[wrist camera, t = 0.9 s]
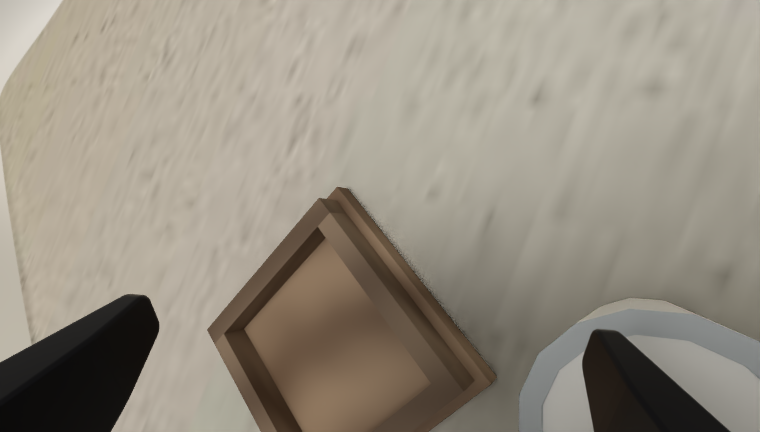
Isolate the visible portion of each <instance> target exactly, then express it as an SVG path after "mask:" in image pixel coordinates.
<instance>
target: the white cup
mask: <svg viewBox="0 0 760 432" xmlns="http://www.w3.org/2000/svg"><path fill="white" fill-rule="evenodd" d="M595 329H608V330H616V331H618V332H620V333H621V334H623V335H624V336H625V337H626V338H627V339H628V340H629V341H630V342H631V343H633V344H634V345H635V346H636V347H637V348H638V349H639V350H640V351H641V352H643V353H644V354H645V355H646V356H647V357H648V358H649V359H650V360H651V361H653V362H654V363H655V364H656V365H657V366H658V367H659V368H660V369H662V370H663V371H664V372H665V373H666V374H667V375H668V376H669V377H670V378H672V379H673V380H674V381H675V382H676V383H677V384H678V385H679V386H680V387H682V388H683V389H684V390H685V391H686V392H687V393H688V394H689V395H690V396H692V397H693V398H694V399H695V400H696V401H697V402H698V403H699V404H701V405H702V406H703V407H704V408H705V409H706V410H707V411H708V412H709V413H711V414H712V415H713V416H714V417H715V418H716V419H717V420H718V421H719V422H721V423H722V424H723V425H724V426H725V427H726V428H727V429H728V430H729V431H731V432H760V341H757V340H755V339H753V338H750V337H748V336H746V335H744V334H741V333H739V332H737V331H734V330H732V329H730V328H727V327H725V326H723V325H721V324H718V323H716V322H714V321H711V320H709V319H707V318H704V317H702V316H700V315H698V314H695V313H693V312H690V311H688V310H686V309H683V308H681V307H679V306H676V305H674V304H672V303H669V302H667V301H664V300H654V299H641V298H627V299H624V300H620V301H617V302H613V303H610V304H606V305H603V306H600V307H599V308H597V309H596V310H594V311H593V312H591V313H590V314H589V315H587V316H586V317H584V318H583V319H581V320H580V321H578V322H577V323H576V324H574V325H573V326H572V327H571V328H569V329H568V330H567V331H566V332H564V333H563V334H562V335H561V336H559V337H558V338H557V339H556V340H555V341H553V342H552V343H551V344H550V345H548V346H547V347H546V348H545V349H543V350H542V351H541V352H540V353H539V354H538V355H537V358H536V360H535V362H534V364H533V366H532V368H531V371H530V373H529V375H528V377H527V379H526V381H525V384H524V386H523V388H522V390H521V392H520V394H519V432H594V429H593V424H592V419H591V413H590V408H589V402H588V397H587V392H586V386H585V381H584V376H583V370H582V359H583V355H584V352H585V349H586V346H587V344H588V341H589V338H590V335H591V333H592V331H593V330H595Z"/></svg>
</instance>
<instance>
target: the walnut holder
mask: <svg viewBox="0 0 760 432" xmlns="http://www.w3.org/2000/svg"><path fill="white" fill-rule="evenodd" d="M207 331H208V332H209V334H210V336H211V338H212V340H213V342H214V344H215V346H216V348H217V349H218V351H219V353H220V355H221V357H222V359H223V361H224V363H225V365H226V366H227V368H228V370H229V372H230V374H231V376H232V378H233V380H234V382H235V383H236V385H237V387H238V389H239V391H240V393H241V395H242V397H243V399H244V400H245V402H246V404H247V406H248V408H249V410H250V412H251V414H252V416H253V417H254V419H255V421H256V423H257V425H258V427H259V429H260V431H261V432H428V431H430V430H431V429H432V428H434V427H435V426H436V425H438V424H439V423H440V422H442V421H443V420H444V419H446V418H447V417H448V416H449V415H451V414H452V413H453V412H455V411H456V410H457V409H459V408H460V407H461V406H463V405H464V404H465V403H467V402H468V401H469V400H471V399H472V398H473V397H475V396H476V395H477V394H479V393H480V392H481V391H483V390H484V389H485V388H487V387H488V386H489V385H491V384H492V382H493V381H494V380H495V379H496V378H497V377H496V375H495V374H494V373H493V372H492V370H491V369H490V368H489V366H488V365H487V364H486V363H485V361H484V360H483V359H482V358H481V356H480V355H479V354H478V353H477V351H476V350H475V349H474V348H473V346H472V345H471V344H470V342H469V341H468V340H467V339H466V337H465V336H464V335H463V334H462V332H461V331H460V330H459V329H458V327H457V326H456V325H455V324H454V322H453V321H452V320H451V318H450V317H449V316H448V315H447V313H446V312H445V311H444V310H443V308H442V307H441V306H440V305H439V303H438V302H437V301H436V300H435V298H434V297H433V296H432V294H431V293H430V292H429V291H428V289H427V288H426V287H425V286H424V284H423V283H422V282H421V281H420V279H419V278H418V277H417V276H416V274H415V273H414V272H413V271H412V269H411V268H410V267H409V265H408V264H407V263H406V262H405V260H404V259H403V258H402V257H401V255H400V254H399V253H398V252H397V250H396V249H395V248H394V247H393V245H392V244H391V243H390V241H389V240H388V239H387V238H386V236H385V235H384V234H383V233H382V231H381V230H380V229H379V228H378V226H377V225H376V224H375V223H374V221H373V220H372V219H371V217H370V216H369V215H368V214H367V212H366V211H365V210H364V209H363V207H362V206H361V205H360V204H359V202H358V201H357V200H356V199H355V197H354V196H353V195H352V193H351V192H350V191H349V190H348V189H347V188H341V187H337V188H336V189H335V190H334V191H333V192H332V193H331V194H330V196H329V197H328V198H327V199H322V198H319V199H318V200H317V201H316V202H315V203H314V204H313V206H312V207H311V208H310V209H309V210H308V212H307V213H306V214H305V215H304V216H303V217H302V219H301V220H300V221H299V222H298V223H297V224H296V226H295V227H294V228H293V229H292V230H291V232H290V233H289V234H288V235H287V236H286V237H285V239H284V240H283V241H282V242H281V243H280V244H279V246H278V247H277V248H276V249H275V250H274V252H273V253H272V254H271V255H270V256H269V257H268V259H267V260H266V261H265V262H264V263H263V265H262V266H261V267H260V268H259V269H258V270H257V272H256V273H255V274H254V275H253V276H252V277H251V279H250V280H249V281H248V282H247V283H246V285H245V286H244V287H243V288H242V289H241V290H240V292H239V293H238V294H237V295H236V296H235V297H234V299H233V300H232V301H231V302H230V303H229V305H228V306H227V307H226V308H225V309H224V310H223V312H222V313H221V314H220V315H219V316H218V317H217V319H216V320H215V321H214V322H213V323H212V325H211V326H210V327H209V328H208V329H207Z"/></svg>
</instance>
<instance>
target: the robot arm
mask: <svg viewBox="0 0 760 432" xmlns="http://www.w3.org/2000/svg"><path fill="white" fill-rule="evenodd" d="M158 332H159V321H158V318H157V316H156V313H155V311H154V308H153V306H152V304H151V301H150V299H149V298H148V297H147V296H145V295H136V294H127V295H124V296H122V297H120V298H118V299H116V300H114V301H113V302H111V303H109V304H107V305H105V306H103V307H102V308H100V309H98V310H96V311H94V312H92V313H91V314H89V315H87V316H85V317H83V318H81V319H79V320H78V321H76V322H74V323H72V324H70V325H68V326H67V327H65V328H63V329H61V330H59V331H57V332H56V333H54V334H52V335H50V336H48V337H46V338H44V339H43V340H41V341H39V342H37V343H35V344H33V345H32V346H30V347H28V348H26V349H24V350H22V351H21V352H19V353H17V354H15V355H13V356H11V357H10V358H8V359H6V360H4V361H2V362H0V432H111V430H112V429H113V427H114V425H115V423H116V421H117V420H118V418H119V416H120V414H121V413H122V411H123V409H124V407H125V405H126V403H127V401H128V399H129V397H130V395H131V393H132V391H133V389H134V387H135V385H136V382H137V380H138V378H139V376H140V373H141V371H142V369H143V367H144V364H145V362H146V360H147V358H148V355H149V353H150V351H151V349H152V346H153V344H154V342H155V340H156V338H157V335H158ZM582 370H583V376H584V381H585V386H586V392H587V397H588V402H589V408H590V413H591V419H592V424H593V429H594V432H731V431H729V430H728V429H727V428H726V427H725V426H724V425H723V424H722V423H721V422H719V421H718V420H717V419H716V418H715V417H714V416H713V415H712V414H711V413H709V412H708V411H707V410H706V409H705V408H704V407H703V406H702V405H701V404H699V403H698V402H697V401H696V400H695V399H694V398H693V397H692V396H690V395H689V394H688V393H687V392H686V391H685V390H684V389H683V388H682V387H680V386H679V385H678V384H677V383H676V382H675V381H674V380H673V379H672V378H670V377H669V376H668V375H667V374H666V373H665V372H664V371H663V370H662V369H660V368H659V367H658V366H657V365H656V364H655V363H654V362H653V361H651V360H650V359H649V358H648V357H647V356H646V355H645V354H644V353H643V352H641V351H640V350H639V349H638V348H637V347H636V346H635V345H634V344H633V343H631V342H630V341H629V340H628V339H627V338H626V337H625V336H624V335H623V334H621V333H620V332H618V331H616V330H608V329H595V330H593V331H592V333H591V335H590V338H589V341H588V344H587V346H586V349H585V352H584V355H583V359H582Z"/></svg>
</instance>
